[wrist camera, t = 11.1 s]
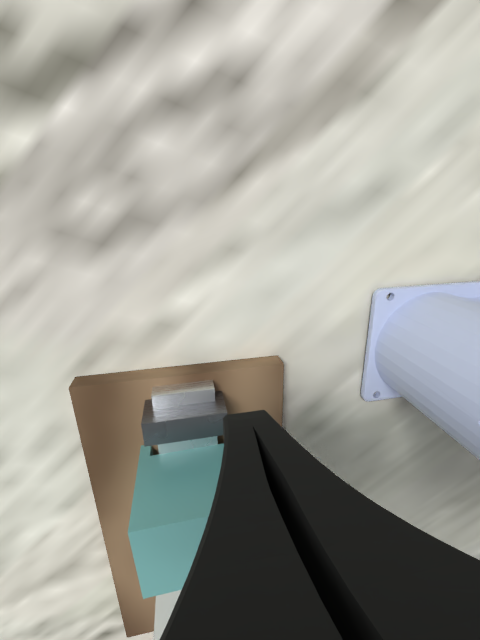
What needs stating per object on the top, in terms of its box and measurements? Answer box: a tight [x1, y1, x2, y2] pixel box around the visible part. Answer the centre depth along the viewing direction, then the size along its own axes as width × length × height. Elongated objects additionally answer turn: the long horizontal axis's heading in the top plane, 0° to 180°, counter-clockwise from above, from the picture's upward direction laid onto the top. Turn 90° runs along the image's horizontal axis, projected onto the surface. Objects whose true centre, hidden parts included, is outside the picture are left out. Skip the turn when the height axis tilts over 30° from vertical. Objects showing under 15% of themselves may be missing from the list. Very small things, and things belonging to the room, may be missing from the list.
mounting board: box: [69, 356, 284, 637], centre depth 22 cm, size 12×22×1 cm, turn 1°
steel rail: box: [141, 380, 227, 454], centre depth 21 cm, size 4×21×2 cm, turn 1°
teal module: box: [128, 443, 224, 599], centre depth 18 cm, size 6×4×6 cm
